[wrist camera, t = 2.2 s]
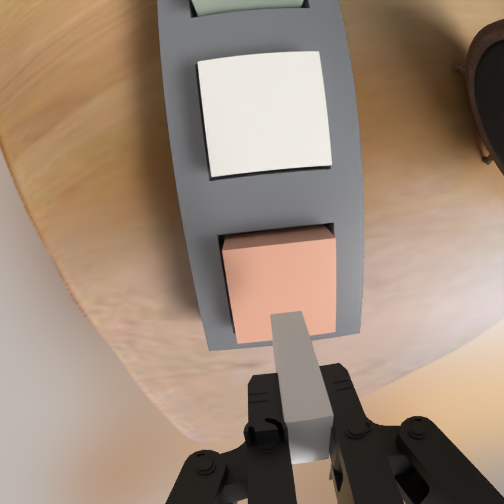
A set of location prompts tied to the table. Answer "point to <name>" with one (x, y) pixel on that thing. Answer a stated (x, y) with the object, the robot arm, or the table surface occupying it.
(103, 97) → the table surface
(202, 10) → the key sage
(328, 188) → the keypad
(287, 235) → the key terracotta
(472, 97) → the alarm clock
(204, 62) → the key offwhite
